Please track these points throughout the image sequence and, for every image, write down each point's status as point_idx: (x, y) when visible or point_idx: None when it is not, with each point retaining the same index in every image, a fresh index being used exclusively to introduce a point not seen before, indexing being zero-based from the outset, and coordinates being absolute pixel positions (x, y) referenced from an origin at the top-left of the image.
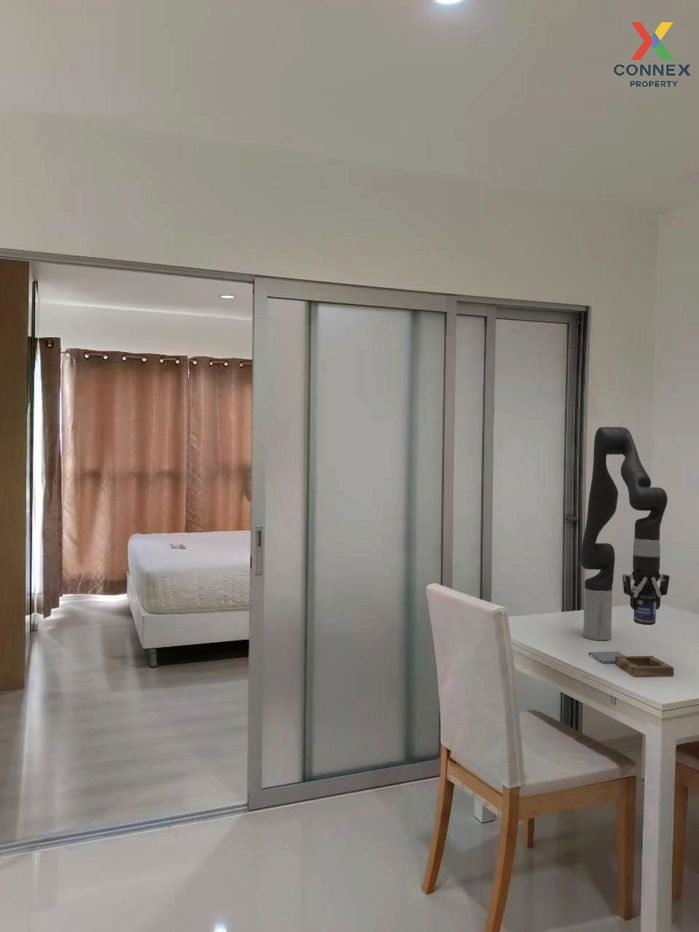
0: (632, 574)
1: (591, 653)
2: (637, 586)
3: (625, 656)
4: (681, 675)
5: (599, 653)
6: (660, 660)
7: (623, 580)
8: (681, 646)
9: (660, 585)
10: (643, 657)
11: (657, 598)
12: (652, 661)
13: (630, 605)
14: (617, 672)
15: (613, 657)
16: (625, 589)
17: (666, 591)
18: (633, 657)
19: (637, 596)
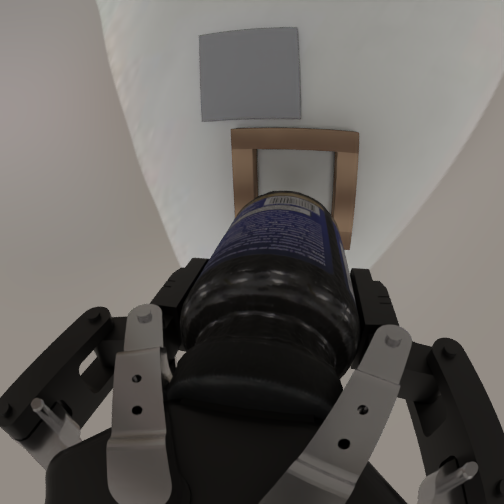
0: (58, 480)
1: (201, 48)
2: (169, 383)
3: (265, 129)
4: (371, 236)
5: (225, 46)
6: (356, 182)
7: (25, 389)
8: (498, 31)
9: (450, 411)
10: (320, 145)
11: (356, 362)
12: (336, 169)
13: (173, 278)
14: (214, 194)
15: (251, 84)
16: (79, 339)
17: (431, 406)
18: (286, 142)
19: (186, 350)
